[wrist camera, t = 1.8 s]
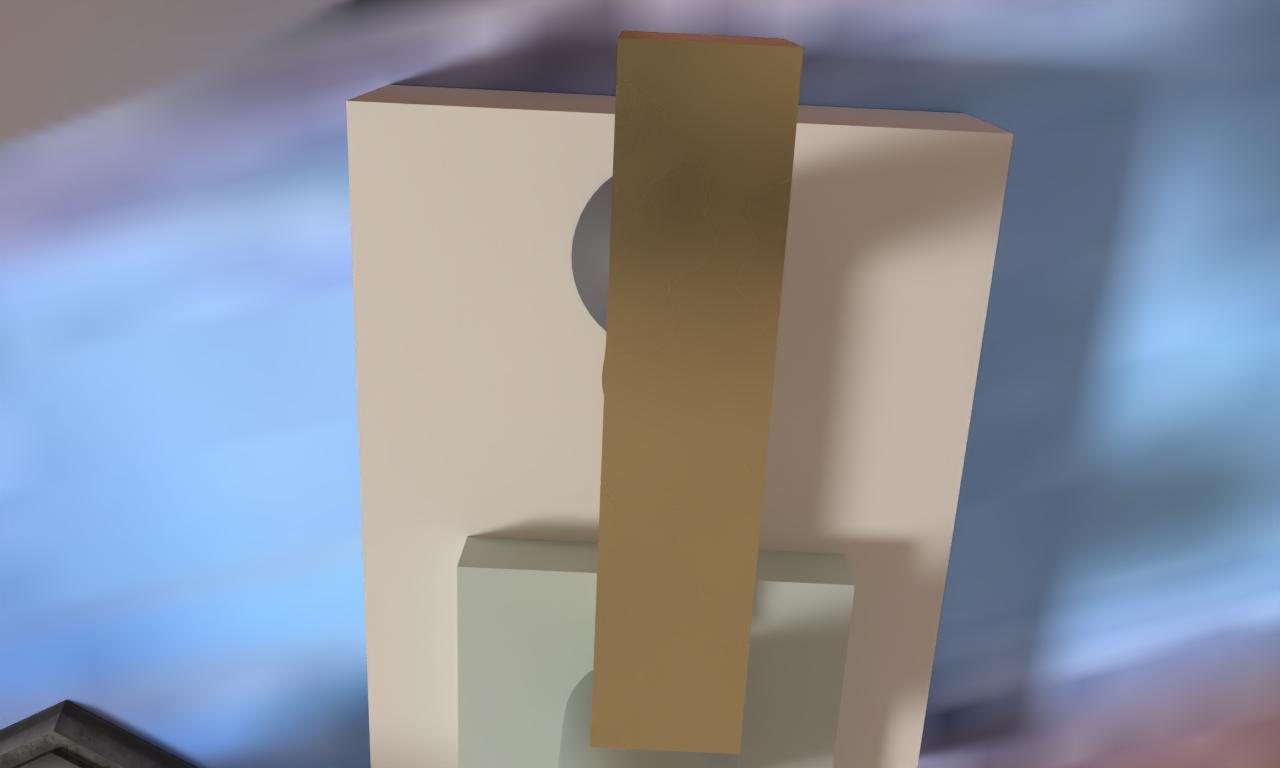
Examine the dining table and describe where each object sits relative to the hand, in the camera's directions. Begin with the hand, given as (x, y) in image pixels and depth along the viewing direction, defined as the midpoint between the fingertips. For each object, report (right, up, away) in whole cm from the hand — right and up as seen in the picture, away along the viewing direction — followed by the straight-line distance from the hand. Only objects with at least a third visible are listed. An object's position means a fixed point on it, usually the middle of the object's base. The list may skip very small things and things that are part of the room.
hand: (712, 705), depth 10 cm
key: (0, +4, +15) cm, 16 cm away
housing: (0, +1, +21) cm, 21 cm away
